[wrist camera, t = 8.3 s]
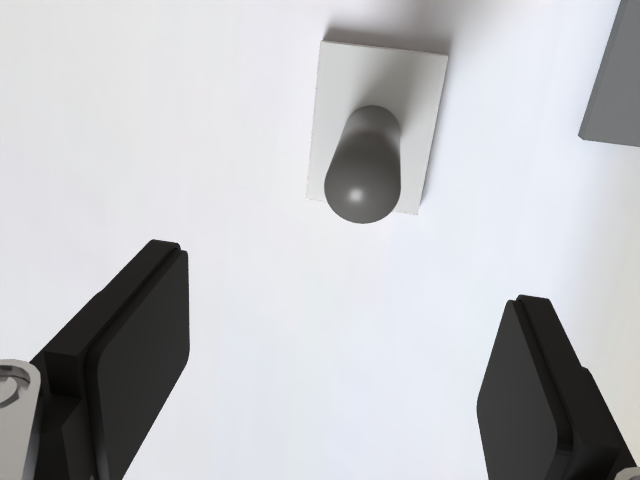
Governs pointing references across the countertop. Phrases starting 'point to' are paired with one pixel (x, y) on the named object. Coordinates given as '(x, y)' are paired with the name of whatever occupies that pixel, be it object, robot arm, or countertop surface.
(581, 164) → the countertop surface
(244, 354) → the countertop surface
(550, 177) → the countertop surface
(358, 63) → the grey post stand
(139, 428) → the robot arm
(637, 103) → the mat
